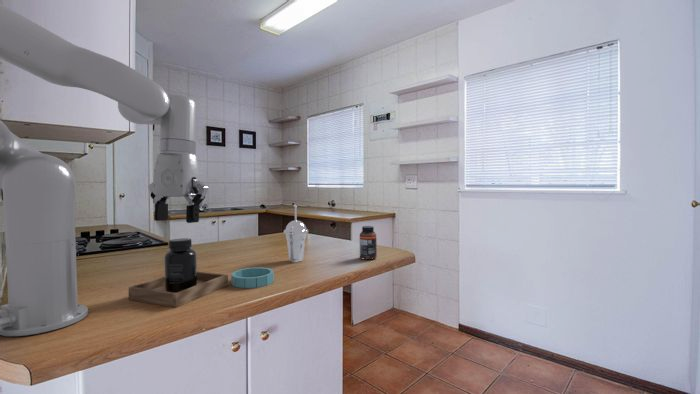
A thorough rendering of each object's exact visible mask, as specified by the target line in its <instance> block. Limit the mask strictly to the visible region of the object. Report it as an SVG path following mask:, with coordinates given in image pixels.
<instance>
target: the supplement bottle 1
mask: <svg viewBox="0 0 700 394" xmlns="http://www.w3.org/2000/svg"><path fill="white" fill-rule="evenodd" d="M192 246H193V245H192V238H188V237H187V238H186V237H185V238H182V237H181V238H174V239H170V240H169V241H168V249H169V250H168V251H167V252H166V253H165V255H164V277H165V289H166V291H167V292H173V293H177V292H180V291H183V290H185V289H188V288H191V287H193V286H196V285H197V270H198V268H197V267H198V266H197V265H198V264H197V252H196V251H195V249H192Z"/></svg>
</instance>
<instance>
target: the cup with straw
mask: <svg viewBox="0 0 700 394" xmlns="http://www.w3.org/2000/svg"><path fill="white" fill-rule="evenodd" d="M291 205H292V206H293V207H294V220H291V221H290V222H288V224H287V225H286V226H285V229H284V230H283V232H282V233H283V234H284V235H285V238H286V241H287V242H286V243H287V251H288V258H289V262H290V261H292V262H291V263H299V262H298V261H302V260H303V261H304V255H305V247H306V246H305V244H306V239H307V234H308V233H309V229H308V228H307V226H306V224H305V223H304V222H303V221H301V220H298V219H297V218H298V214H297V213H298V211H297V210H298V208H297V207H298V206H297V204H296V203H294V202H292V203H291ZM303 261H302V262H303Z"/></svg>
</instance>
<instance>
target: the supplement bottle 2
mask: <svg viewBox="0 0 700 394" xmlns="http://www.w3.org/2000/svg"><path fill="white" fill-rule="evenodd" d="M374 229H375V227H374V226H373V225H364V226H362V227H361V232H360V233H359V258H360V259H361V258H364V259H372V258H376V259H377V254H378V253H377V251H378V250H377V249H378V248H377V246H378V245H377V244H378V243H377V233H376V232H375V231H374Z"/></svg>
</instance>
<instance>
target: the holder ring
mask: <svg viewBox="0 0 700 394" xmlns="http://www.w3.org/2000/svg"><path fill="white" fill-rule="evenodd" d="M274 272H275V271H274V269H272V268H269V267H247V268H243V269H242V268H241V269H237V270H235V271H233V272H232V273H231V276H230V277H231V278H230V279H231V283H230V284H231V285H232V286H233V287H235V288H240V289H255V288H261V287H266V286H269V285H271V284H272V283H274V281H275V279H274V277H275V275H274V274H275V273H274Z"/></svg>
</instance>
